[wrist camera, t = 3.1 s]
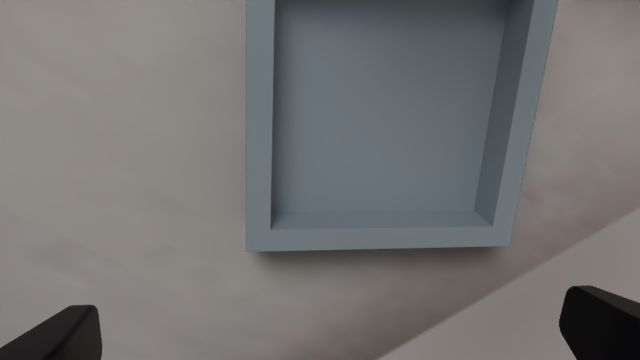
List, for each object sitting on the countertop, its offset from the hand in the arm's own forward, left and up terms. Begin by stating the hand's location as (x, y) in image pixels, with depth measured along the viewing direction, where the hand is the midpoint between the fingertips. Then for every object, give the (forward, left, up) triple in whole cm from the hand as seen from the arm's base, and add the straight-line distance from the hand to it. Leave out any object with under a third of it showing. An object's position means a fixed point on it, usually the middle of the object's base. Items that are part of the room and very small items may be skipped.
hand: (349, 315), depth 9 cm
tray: (+4, +2, -13) cm, 14 cm away
